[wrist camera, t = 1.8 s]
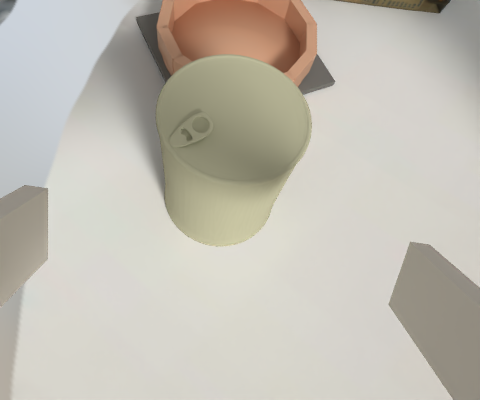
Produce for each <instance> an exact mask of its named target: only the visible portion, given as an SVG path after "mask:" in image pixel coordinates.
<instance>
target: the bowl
mask: <svg viewBox="0 0 480 400" xmlns="http://www.w3.org/2000/svg"><path fill="white" fill-rule="evenodd" d="M156 27H157V38H158V48H159V50H160V52H161V54H162V57H163V61H164V64H165V66H166V68H167V70H168V72H169V73H170V75H171V76H172V75H173V74H174V73H175V72H176V71H178V70H179V69H180V68H182V67H183V66H185V65H186V64H188V63H190V62H192V61H195V60H197V59H200V58H203V57H207V56H212V55H220V54H233V55H242V56H247V57H251V58H254V59H258V60H260V61H263V62H265V63H268V64H269V65H271V66H273V67H275V68H276V69H278V70H280V71H281V72H282V73H284V74H285V75H286V76H287V77H288V78H290V79H291V80H292V81H293V83H294V84H295V85H296V86H297V87H299V85H300V84H301V82H302V80H303V79H304V78H305V76H306V75H307V74H308V73H309V71H310V68H311V66H312V64H313V61H314V59H315V57H316V54H317V24H316V22H315V20H314V19H313V17H312V16H311V15H310V13H309V12H308V10H307V9H306V7H305V6H304V4H303V3H302V1H301V0H163V2H162V6H161V10H160V14H159V18H158V22H157V26H156Z"/></svg>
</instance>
